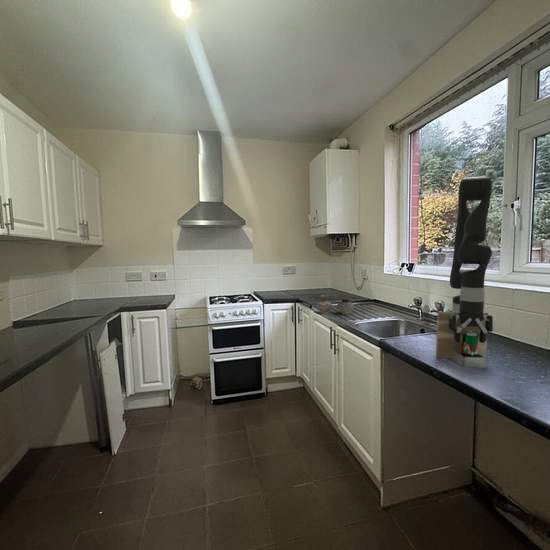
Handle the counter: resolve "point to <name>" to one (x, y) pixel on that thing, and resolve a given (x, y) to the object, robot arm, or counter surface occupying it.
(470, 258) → the robot arm
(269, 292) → the counter surface
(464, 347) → the soda can
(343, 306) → the pottery
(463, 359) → the can holder
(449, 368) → the counter surface
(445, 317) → the wall board
